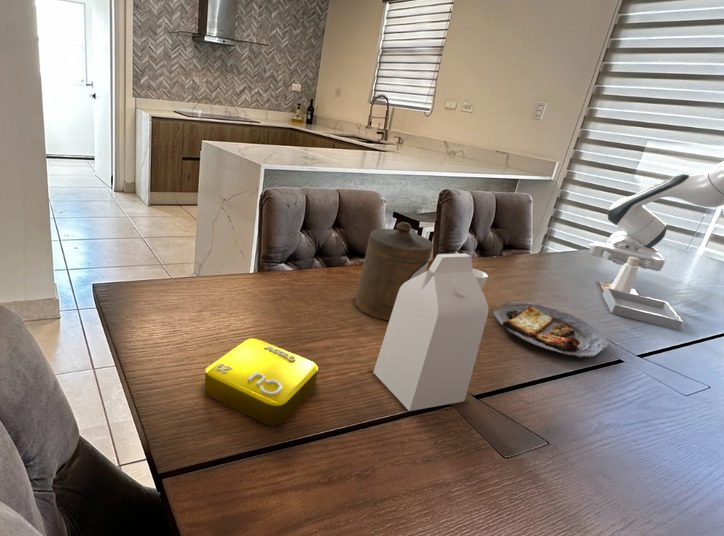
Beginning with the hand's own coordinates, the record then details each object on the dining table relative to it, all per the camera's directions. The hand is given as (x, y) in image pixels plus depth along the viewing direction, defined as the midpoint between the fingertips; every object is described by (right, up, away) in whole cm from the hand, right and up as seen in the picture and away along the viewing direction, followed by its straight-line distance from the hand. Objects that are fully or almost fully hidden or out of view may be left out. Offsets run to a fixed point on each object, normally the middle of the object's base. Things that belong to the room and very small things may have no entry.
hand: (627, 261), depth 150 cm
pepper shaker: (-4, -9, -2) cm, 10 cm away
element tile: (-115, -25, -69) cm, 136 cm away
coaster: (-4, -9, -2) cm, 11 cm away
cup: (-60, -11, -21) cm, 65 cm away
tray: (-9, -15, -16) cm, 23 cm away
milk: (-86, -26, -63) cm, 110 cm away
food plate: (-47, -19, -36) cm, 63 cm away
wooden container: (-85, -13, -33) cm, 92 cm away
